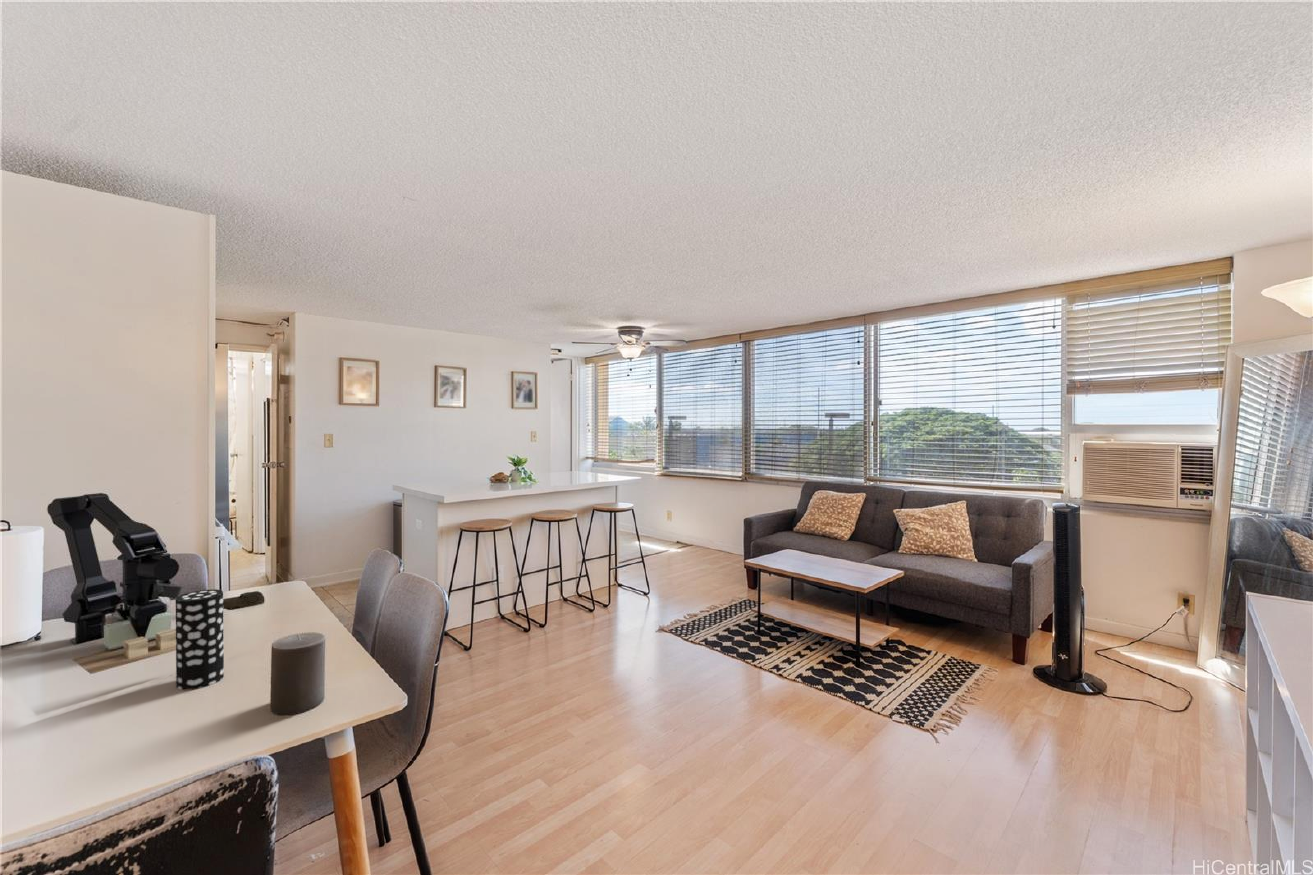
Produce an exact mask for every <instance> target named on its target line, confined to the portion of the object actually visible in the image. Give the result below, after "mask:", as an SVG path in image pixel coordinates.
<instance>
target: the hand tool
mask: <svg viewBox="0 0 1313 875" xmlns="http://www.w3.org/2000/svg"><path fill="white" fill-rule="evenodd" d="M265 600H266V599H265V596H264V594H263V593H262V592H261V591H259V590H254V591H247V592H244V593H241V594H240V595H239V596H233V597H229V598H223V610H228V609H229V610H230V609H232V608H241V609H245V608H250V607H254V606H258V605H262V604H264V603H265Z"/></svg>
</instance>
